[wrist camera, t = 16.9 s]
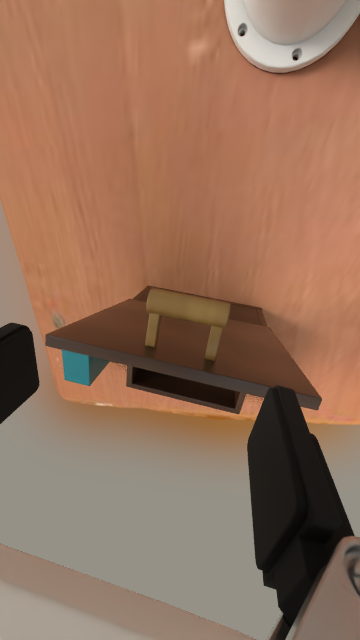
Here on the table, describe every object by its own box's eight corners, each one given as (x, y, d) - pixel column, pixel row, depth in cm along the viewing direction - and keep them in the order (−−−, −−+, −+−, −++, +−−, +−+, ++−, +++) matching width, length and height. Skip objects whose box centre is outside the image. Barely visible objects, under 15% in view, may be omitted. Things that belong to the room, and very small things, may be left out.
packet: (113, 356, 42) (89, 386, 35) (92, 351, 42) (64, 380, 35) (114, 329, 39) (88, 355, 32) (91, 324, 40) (61, 348, 33)
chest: (237, 383, 39) (239, 414, 33) (141, 360, 41) (126, 386, 35) (261, 307, 33) (268, 328, 27) (147, 285, 35) (130, 300, 29)
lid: (318, 411, 13) (347, 333, 12) (44, 346, 15) (46, 272, 14) (267, 333, 27) (279, 294, 26) (128, 305, 29) (133, 266, 28)
